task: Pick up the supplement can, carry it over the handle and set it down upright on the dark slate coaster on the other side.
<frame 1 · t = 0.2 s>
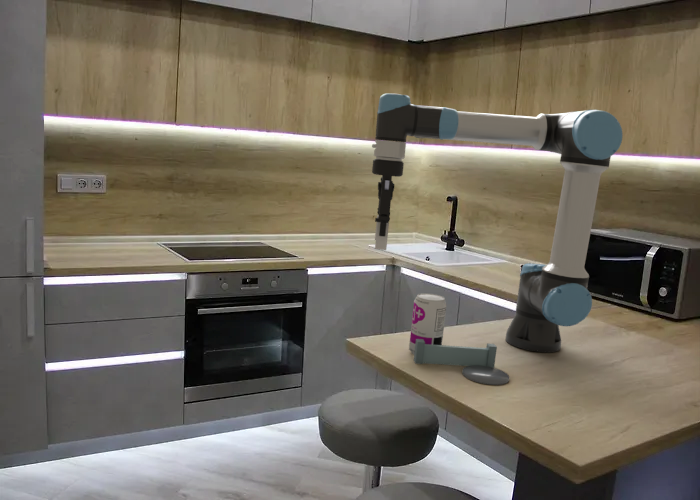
hand: (380, 245, 160), 27 cm above the countertop, fingers open, 13 cm apart
handle: (453, 364, 159), on the countertop
supplement can: (424, 354, 166), on the countertop
coaster: (485, 376, 153), on the countertop
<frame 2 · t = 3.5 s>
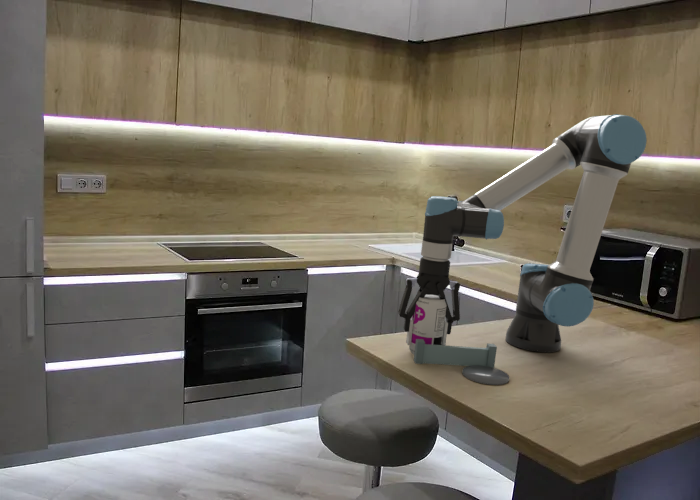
hand: (425, 344, 165), 2 cm above the countertop, fingers closed on supplement can, 8 cm apart
supplement can: (424, 354, 166), on the countertop, touching gripper
when the fingers open (4 cm above the countertop, at t = 9.4 s): supplement can stays where it is, resting on coaster.
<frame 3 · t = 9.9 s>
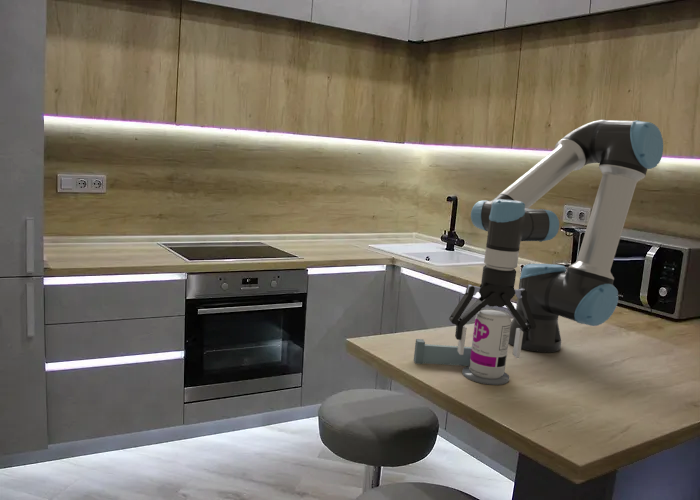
hand: (488, 354, 152), 5 cm above the countertop, fingers open, 13 cm apart
supplement can: (485, 374, 153), resting on coaster
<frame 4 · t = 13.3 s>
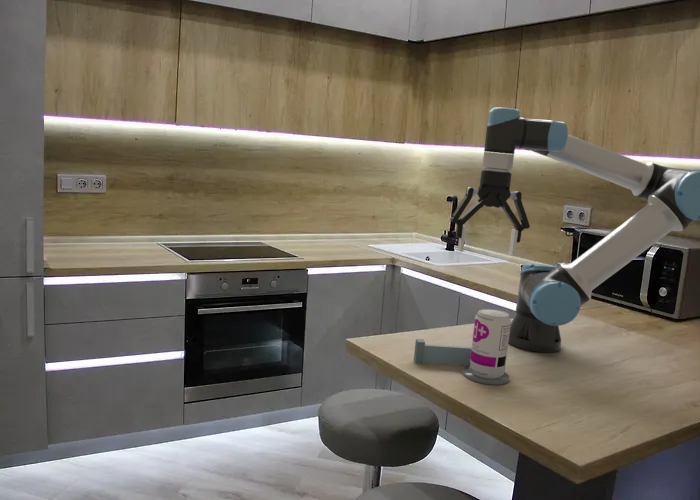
hand: (486, 252, 166), 27 cm above the countertop, fingers open, 13 cm apart
nothing on the countertop moved.
at the end: supplement can 0.1 cm from the coaster (horizontally); supplement can tilted 0°; the gripper is holding nothing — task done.
